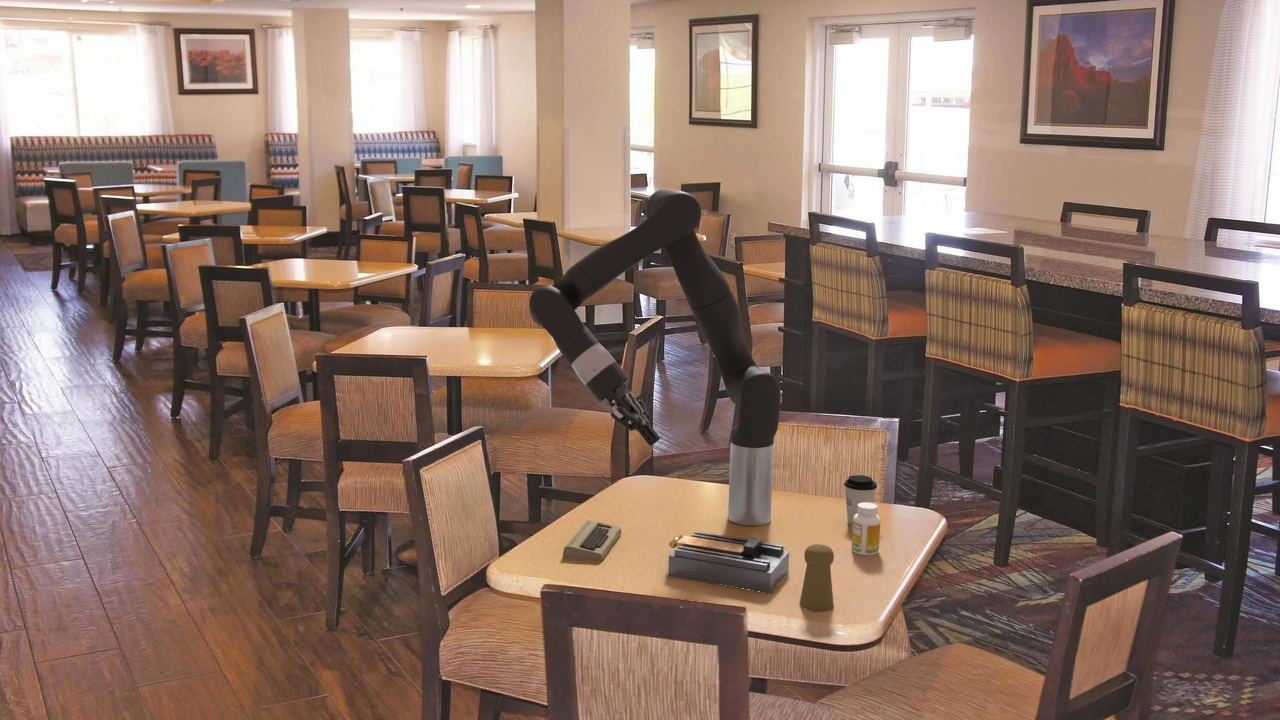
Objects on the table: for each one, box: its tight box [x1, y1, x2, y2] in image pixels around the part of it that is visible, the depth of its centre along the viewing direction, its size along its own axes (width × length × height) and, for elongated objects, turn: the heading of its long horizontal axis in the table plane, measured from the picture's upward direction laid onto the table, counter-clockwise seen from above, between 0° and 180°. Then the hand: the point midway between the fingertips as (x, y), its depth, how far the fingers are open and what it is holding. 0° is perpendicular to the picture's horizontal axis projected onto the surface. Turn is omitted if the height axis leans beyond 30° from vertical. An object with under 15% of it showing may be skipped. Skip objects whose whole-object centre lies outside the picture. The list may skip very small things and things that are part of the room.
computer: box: [562, 519, 622, 563], centre depth 236 cm, size 16×8×3 cm, turn 167°
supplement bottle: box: [851, 502, 881, 556], centre depth 235 cm, size 5×5×10 cm
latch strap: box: [668, 534, 744, 556], centre depth 224 cm, size 4×14×1 cm, turn 67°
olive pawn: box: [799, 543, 835, 613], centre depth 209 cm, size 6×6×11 cm
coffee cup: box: [843, 474, 878, 526], centre depth 251 cm, size 7×7×10 cm
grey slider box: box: [667, 530, 790, 594], centre depth 223 cm, size 12×20×7 cm, turn 67°
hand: (655, 442), depth 225 cm, fingers closed
